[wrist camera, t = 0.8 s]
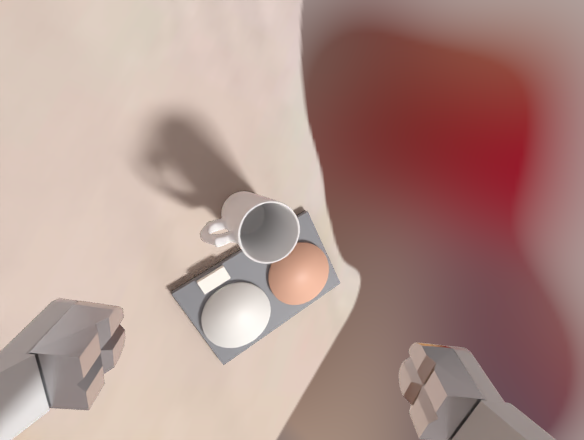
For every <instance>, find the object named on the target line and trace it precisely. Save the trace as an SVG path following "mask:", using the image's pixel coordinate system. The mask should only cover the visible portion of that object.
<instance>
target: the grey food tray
mask: <svg viewBox="0 0 584 440" xmlns="http://www.w3.org/2000/svg"><path fill="white" fill-rule="evenodd" d="M297 218H298V221H299V225H300V234H299V238H298V241H297V244H296V246H295V247H294V249H293V250H292V251H291V253H290V254H289V255H287V256H286V257H285V258H283V259H282V260H280V261H277V262H274V263H268V264H264V263H258V262H255V261H253V260H251V259H250V258H248V257H247V256H246V255H245V254H244V253H243V251H242V250H239V251H237V252H236V253H234V254H232V255H231V256H229V257H227V258H226V259H224V260H222V261H221V262H219V263H217V264H216V265H214V266H212V267H211V268H209V269H208V270H206V271H204V272H203V273H201V274H199V275H198V276H196V277H194V278H193V279H191V280H189V281H188V282H186V283H184V284H183V285H181V286H179V287H178V288H176V289H174V290H173V291H172V295H173V297H174V298H175V299H176V301H177V302H178V304H179V305H180V306H181V308H182V309H183V310H184V312H185V313H186V314H187V316H188V317H189V319H190V320H191V321H192V323H193V324H194V325H195V327H196V328H197V330H198V331H199V332H200V334H201V335H202V336H203V338H204V339H205V340H206V342H207V343H208V345H209V346H210V347H211V349H212V350H213V351H214V353H215V354H216V355H217V357H218V358H219V360H220V361H221V362H222V364H223V365H224V364H226V363H227V362H229V361H230V360H232V359H233V358H234V357H236V356H237V355H239V354H240V353H242V352H243V351H244V350H246V349H247V348H249V347H250V346H252V345H253V344H254V343H256V342H257V341H259V340H260V339H261V338H263V337H264V336H266V335H267V334H269V333H270V332H271V331H273V330H274V329H276V328H277V327H279V326H280V325H281V324H283V323H284V322H286V321H287V320H289V319H290V318H291V317H293V316H294V315H296V314H297V313H299V312H300V311H301V310H303V309H304V308H306V307H307V306H308V305H310V304H311V303H313V302H314V301H316V300H317V299H318V298H320V297H321V296H323V295H324V294H326V293H327V292H328V291H330V290H331V289H333V288H334V287H336V286H337V285H338V284H340V281H339V279H338V277H337V275H336V273H335V270H334V268H333V266H332V264H331V262H330V259H329V257H328V255H327V253H326V251H325V248H324V246H323V244H322V242H321V240H320V237H319V235H318V233H317V231H316V229H315V226H314V224H313V222H312V220H311V218H310V215H309V213H308V212H307V211H304V212H302V213H300V214H299V215H297Z"/></svg>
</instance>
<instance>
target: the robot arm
mask: <svg viewBox="0 0 584 440" xmlns="http://www.w3.org/2000/svg"><path fill="white" fill-rule="evenodd" d="M123 318H124V314H123V308H121V307H119V306H113V305H106V304H99V303H92V302H85V301H76V300H69V299H62V298H59V299H56V300H54V301H52V302H51V303H50V304H49V305H48V306H47V307H46V308H45V309H44V310H43V311H42V312H41V313H40V314H39V315H37V316H36V317H35V318H34V319H33V320H32V321H31V322H30V323H29V324H28V325H27V326H26V327H25V328H24V329H23V330H22V331H21V332H20V333H19V334H18V335H17V336H16V337H15V338H14V339H13V340H12V341H11V342H10V343H8V344H7V345H6V346H5V347H4V348H3V349H2V350H1V351H0V440H12V439H13V438H14V437H16V436H17V435H18V434H20V433H21V432H22V431H24V430H25V429H26V428H27V427H29V426H30V425H31V424H33V423H34V422H35V421H37V420H38V419H39V418H40V417H42V416H43V415H44V414H46V413H47V412H48V411H49V410H50V409H49V408H60V409H77V410H89V409H90V408H91V406H92V404H93V402H94V401H95V399H96V397H97V396H98V394H99V392H100V391H101V389H102V387H103V386H104V384H105V382H104V374H105V373H106V372H108V371H109V370H111V369H112V368H114V367H115V365H116V363H117V361H118V359H119V358H120V355H121V353H122V350H123V347H124V342H125V329H124V328H123V327H122V326H121V325H120V323H121V321H122V320H123ZM409 354H410V357H409V358H408V359H406V360H405V361H403V362H402V365H401V367H400V369H399V385H400V389H401V392H402V395H403V397H404V398H405V399H406V400H407V401H408V402H409V403H410V404H411V408H410V411H409V414H410V416H411V419H412V421H413V424H414V427H415V429H416V432H417V435H418V437H419V439H427V440H556V439H554V438H553V437H552V436H551V435H549V434H548V433H547V432H546V431H544V430H543V429H542V428H541V427H539V426H538V425H537V424H536V423H534V422H533V421H532V420H531V419H529V418H528V417H527V416H526V415H524V414H523V413H522V412H521V411H519V410H518V409H517V408H515V407H514V406H513V405H512V404H510V403H505V402H504V400H503V399H502V397H501V396H500V395H499V393H498V392H497V390H496V389H495V387H494V386H493V384H492V383H491V381H490V380H489V379H488V377H487V375H486V374H485V372H484V371H483V370H482V368H481V367H480V365H479V364H478V362H477V361H476V359H475V358H474V356H473V355H472V353H471V352H470V351H469V350H467V349H466V348H463V347H453V346H444V345H436V344H427V343H418V342H415V343H414V344H412V345H411V347H410V349H409Z"/></svg>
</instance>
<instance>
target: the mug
mask: <svg viewBox="0 0 584 440" xmlns="http://www.w3.org/2000/svg"><path fill="white" fill-rule="evenodd" d="M221 217H222V218H221V219H217V220H213V221H209V222H208V223H207V224H206V225H205V226H204V227H203V229H202V230H201V232H200V238H201V240H202V241H204V242H206V243H209V244H212V245H215V246H216V247H220V246H223V245H226V244H227V243H231V242H234V243H237V244H238V246H239V247H240V248H241V250H242V251H243V253H244V254H245V255H246V256H247V257H248V258H250V259H251V260H253V261H255V262H258V263H264V264H268V263H274V262H277V261H280V260H282V259H283V258H285V257H286V256H287V255H289V254H290V253H291V251H292V250H293V249H294V247H295V246H296V244H297V241H298V238H299V234H300V225H299V221H298V218H297V216H296V214H295V213H294V211H293V210H292V209H291V208H290V207H289V206H287V205H285V204H284V203H281V202H278V201H275V200H273V199H270V198H267V197H264V196H261V195H258V194H255V193H251V192H247V191H240V192H236V193H234V194H232V195H231V196H229V197H228V198H227V199H226V201H225V202H224V204H223V207H222V211H221ZM222 229H227V230H228V232H226V233H222V234H211V233H213V232H215V231H218V230H222Z"/></svg>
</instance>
